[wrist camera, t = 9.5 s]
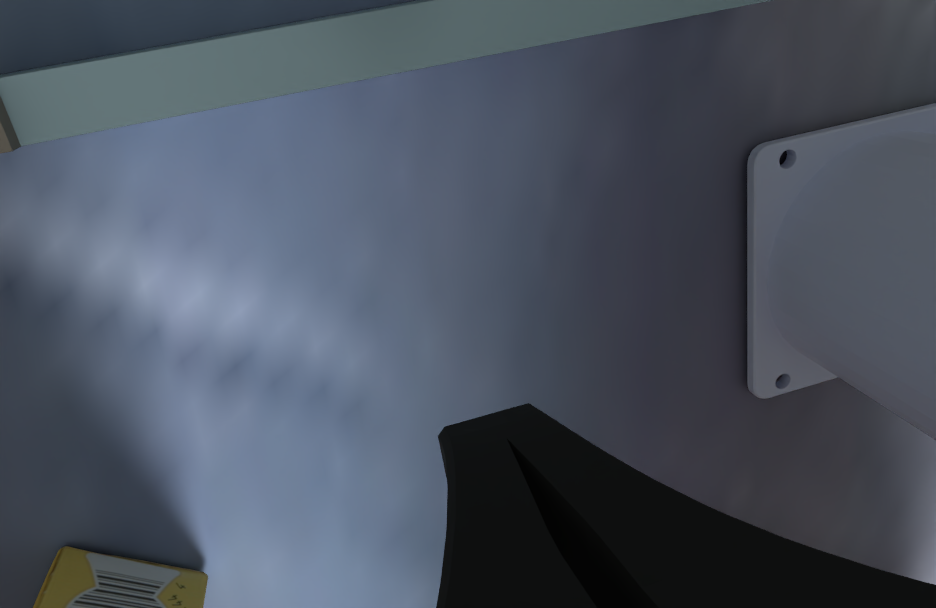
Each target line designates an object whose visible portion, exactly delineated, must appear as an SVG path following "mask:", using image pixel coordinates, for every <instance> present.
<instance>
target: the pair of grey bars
mask: <svg viewBox="0 0 936 608" xmlns="http://www.w3.org/2000/svg"><path fill="white" fill-rule="evenodd" d="M767 1H772V0H417V1H411V2H405V3H400V4H394V5H388V6H383V7H377V8H372V9H366V10H360V11H355V12H349V13H344V14H338V15H332V16H327V17H321V18H315V19H310V20H304V21H299V22H293V23H287V24H282V25H276V26H270V27H265V28H259V29H254V30H248V31H242V32H237V33H231V34H225V35H220V36H214V37H209V38H203V39H197V40H192V41H186V42H180V43H175V44H169V45H164V46H158V47H152V48H147V49H141V50H135V51H130V52H124V53H119V54H113V55H107V56H102V57H96V58H90V59H85V60H79V61H74V62H68V63H62V64H57V65H51V66H45V67H40V68H34V69H29V70H23V71H17V72H12V73H6V74H0V153H5V152H10V151H14V150H15V149H17V148H19V147H21V146H25V145H30V144H35V143H40V142H46V141H51V140H56V139H61V138H66V137H71V136H76V135H82V134H87V133H92V132H97V131H102V130H107V129H113V128H118V127H123V126H128V125H133V124H138V123H143V122H149V121H154V120H159V119H164V118H169V117H174V116H179V115H185V114H190V113H195V112H200V111H205V110H210V109H216V108H221V107H226V106H231V105H236V104H241V103H246V102H252V101H257V100H262V99H267V98H272V97H277V96H282V95H288V94H293V93H298V92H303V91H308V90H313V89H319V88H324V87H329V86H334V85H339V84H344V83H349V82H355V81H360V80H365V79H370V78H375V77H380V76H385V75H391V74H396V73H401V72H406V71H411V70H416V69H422V68H427V67H432V66H437V65H442V64H447V63H452V62H458V61H463V60H468V59H473V58H478V57H483V56H488V55H494V54H499V53H504V52H509V51H514V50H519V49H525V48H530V47H535V46H540V45H545V44H550V43H555V42H561V41H566V40H571V39H576V38H581V37H586V36H591V35H597V34H602V33H607V32H612V31H617V30H622V29H628V28H633V27H638V26H643V25H648V24H653V23H658V22H664V21H669V20H674V19H679V18H684V17H689V16H694V15H700V14H705V13H710V12H715V11H720V10H725V9H731V8H736V7H741V6H746V5H751V4H756V3H761V2H767Z"/></svg>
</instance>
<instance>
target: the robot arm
mask: <svg viewBox="0 0 936 608" xmlns="http://www.w3.org/2000/svg"><path fill="white" fill-rule="evenodd" d="M784 151H787V157H786V160H785V162H784V163H783V164H781V165H780V163H779V160H780V156H781V155H782V153H783V152H784ZM780 375H782V377H781V378H780V380H779V381H777V382H776V379H777V378H778V377H779V376H780ZM838 377H839V378H840V379H842V380H843V381H845V382H847V383H848V384H850V385H851V386H853V387H854V388H856V389H857V390H859V391H861V392H862V393H864V394H865V395H867V396H868V397H870V398H871V399H873V400H875V401H876V402H878V403H879V404H881V405H882V406H884V407H885V408H887V409H889V410H890V411H892V412H893V413H895V414H896V415H898V416H899V417H901V418H903V419H904V420H906V421H907V422H909V423H910V424H912V425H913V426H915V427H917V428H918V429H920V430H921V431H923V432H924V433H926V434H927V435H929V436H931V437H932V438H934V439H935V440H936V103H933V104H929V105H925V106H920V107H916V108H911V109H907V110H903V111H898V112H894V113H890V114H885V115H881V116H877V117H872V118H868V119H864V120H859V121H855V122H851V123H846V124H842V125H838V126H833V127H829V128H825V129H820V130H816V131H812V132H807V133H803V134H799V135H794V136H790V137H786V138H781V139H777V140H773V141H768V142H764V143H762V144H759V145H757V146H756V147H755V148H754V149H753V150H752V152H751V154H750V155H749V157H748V163H747V385H748V389H749V391H750V392H751V393H752V394H754V395H755V396H756V397H757V398H760V399H767V398H771V397H774V396H778V395H781V394H784V393H788V392H791V391H794V390H798V389H801V388H804V387H808V386H811V385H815V384H818V383H821V382H825V381H828V380H831V379H835V378H838ZM438 439H439V443H440V448H441V453H442V458H443V462H444V467H445V472H446V477H447V484H448V499H447V530H446V541H445V549H444V558H443V567H442V576H441V583H440V589H439V595H438V601H437V607H436V608H936V585H934V584H930V583H925V582H922V581H918V580H915V579H911V578H908V577H904V576H901V575H897V574H893V573H890V572H886V571H883V570H879V569H876V568H873V567H869V566H866V565H863V564H860V563H857V562H854V561H851V560H848V559H845V558H842V557H839V556H835V555H832V554H829V553H826V552H823V551H820V550H817V549H814V548H811V547H808V546H805V545H803V544H800V543H797V542H794V541H791V540H789V539H786V538H783V537H781V536H778V535H775V534H773V533H770V532H768V531H766V530H763V529H761V528H758V527H756V526H753V525H751V524H748V523H746V522H743V521H741V520H739V519H736V518H734V517H731V516H729V515H726V514H724V513H722V512H720V511H717V510H715V509H713V508H711V507H708V506H706V505H704V504H702V503H700V502H698V501H696V500H694V499H692V498H690V497H688V496H686V495H684V494H682V493H680V492H678V491H676V490H674V489H672V488H670V487H668V486H666V485H664V484H662V483H660V482H658V481H656V480H654V479H652V478H650V477H648V476H647V475H645V474H643V473H641V472H639V471H637V470H636V469H634V468H632V467H631V466H629V465H627V464H625V463H624V462H622V461H620V460H618V459H617V458H615V457H613V456H612V455H610V454H608V453H607V452H605V451H603V450H602V449H600V448H598V447H597V446H595V445H593V444H592V443H590V442H589V441H587V440H586V439H584V438H582V437H581V436H579V435H578V434H576V433H574V432H573V431H571V430H570V429H568V428H567V427H565V426H564V425H562V424H560V423H559V422H557V421H556V420H554V419H553V418H551V417H550V416H548V415H547V414H545V413H543V412H542V411H540V410H539V409H537V408H535V407H534V406H532V405H531V404H529V403H528V404H524V405H521V406H517V407H513V408H510V409H506V410H503V411H499V412H496V413H492V414H488V415H485V416H481V417H478V418H474V419H471V420H467V421H464V422H460V423H456V424H453V425H449V426H446V427H444V428H443V430H442V431H441V433H440V434H439V435H438Z"/></svg>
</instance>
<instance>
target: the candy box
mask: <svg viewBox="0 0 936 608" xmlns="http://www.w3.org/2000/svg"><path fill="white" fill-rule="evenodd" d="M207 580H208V576H207V574H205V573H204V572H200V571H195V570H190V569H185V568H179V567H174V566H168V565H163V564H158V563H153V562H148V561H143V560H137V559H131V558H125V557H120V556H114V555H107V554H99V553H94V552H90V551H85V550H81V549H77V548H72V547H68V546H65V547H62V548H61V549H59V551H58V553H57V555H56V557H55V559H54V561H53V563H52V565H51V567H50V569H49V571H48V574H47V576H46V578H45V580H44V583H43V585H42V587H41V590H40V592H39V594H38V597H37V599H36V601H35V604H34V606H33V608H203V605H204V598H205V592H206V586H207Z"/></svg>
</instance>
